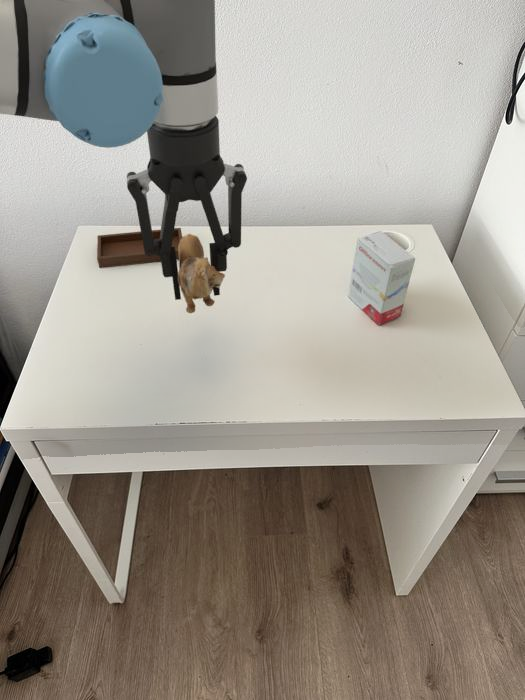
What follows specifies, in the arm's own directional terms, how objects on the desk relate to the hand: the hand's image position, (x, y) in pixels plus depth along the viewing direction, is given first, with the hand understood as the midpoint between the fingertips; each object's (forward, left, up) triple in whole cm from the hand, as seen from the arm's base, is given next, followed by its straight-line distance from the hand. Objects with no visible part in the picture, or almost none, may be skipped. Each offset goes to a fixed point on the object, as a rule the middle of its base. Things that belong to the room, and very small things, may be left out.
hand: (196, 290), depth 72 cm
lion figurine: (+1, 0, 0) cm, 1 cm away
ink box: (+29, +6, -12) cm, 32 cm away
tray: (-8, +28, -12) cm, 31 cm away
